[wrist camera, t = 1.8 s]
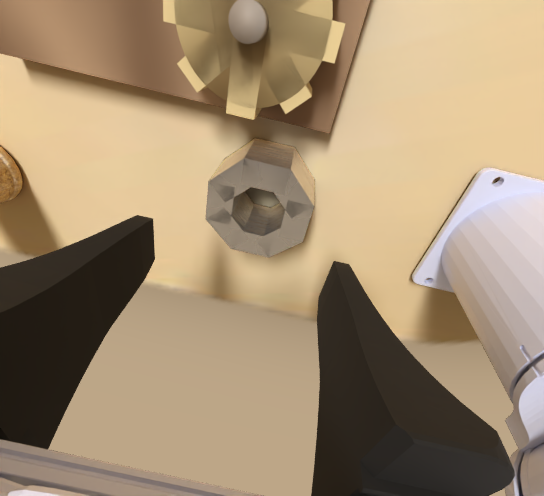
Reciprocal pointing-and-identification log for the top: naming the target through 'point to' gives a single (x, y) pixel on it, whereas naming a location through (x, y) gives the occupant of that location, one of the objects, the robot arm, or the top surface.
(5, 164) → the sprinkles bottle
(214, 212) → the loose gear
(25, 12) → the gear board
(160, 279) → the top surface
